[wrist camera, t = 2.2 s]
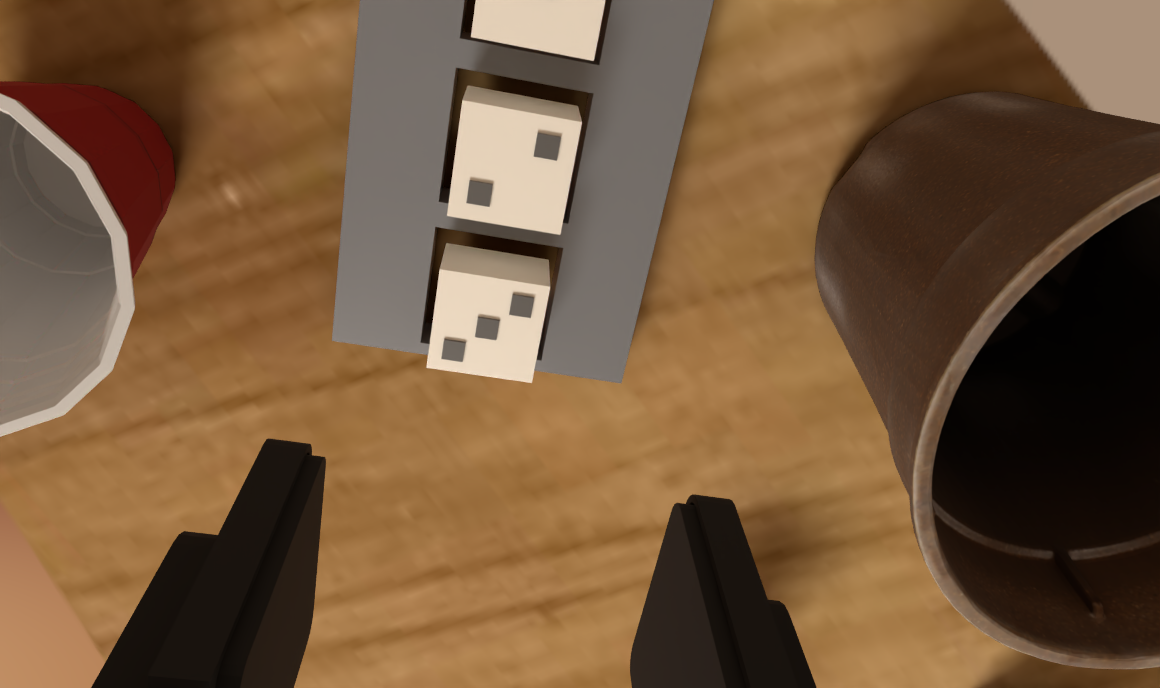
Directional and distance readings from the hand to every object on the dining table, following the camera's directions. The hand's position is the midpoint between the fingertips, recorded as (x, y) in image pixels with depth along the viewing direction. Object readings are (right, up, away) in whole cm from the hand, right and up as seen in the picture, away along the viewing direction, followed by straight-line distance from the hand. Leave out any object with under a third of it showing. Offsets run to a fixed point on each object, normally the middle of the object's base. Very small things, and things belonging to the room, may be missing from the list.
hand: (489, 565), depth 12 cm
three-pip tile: (-2, +5, +23) cm, 24 cm away
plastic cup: (-17, +10, +23) cm, 30 cm away
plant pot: (+17, +7, +26) cm, 32 cm away
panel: (-1, +11, +23) cm, 25 cm away
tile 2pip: (-1, +10, +21) cm, 23 cm away
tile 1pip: (0, +15, +18) cm, 24 cm away
